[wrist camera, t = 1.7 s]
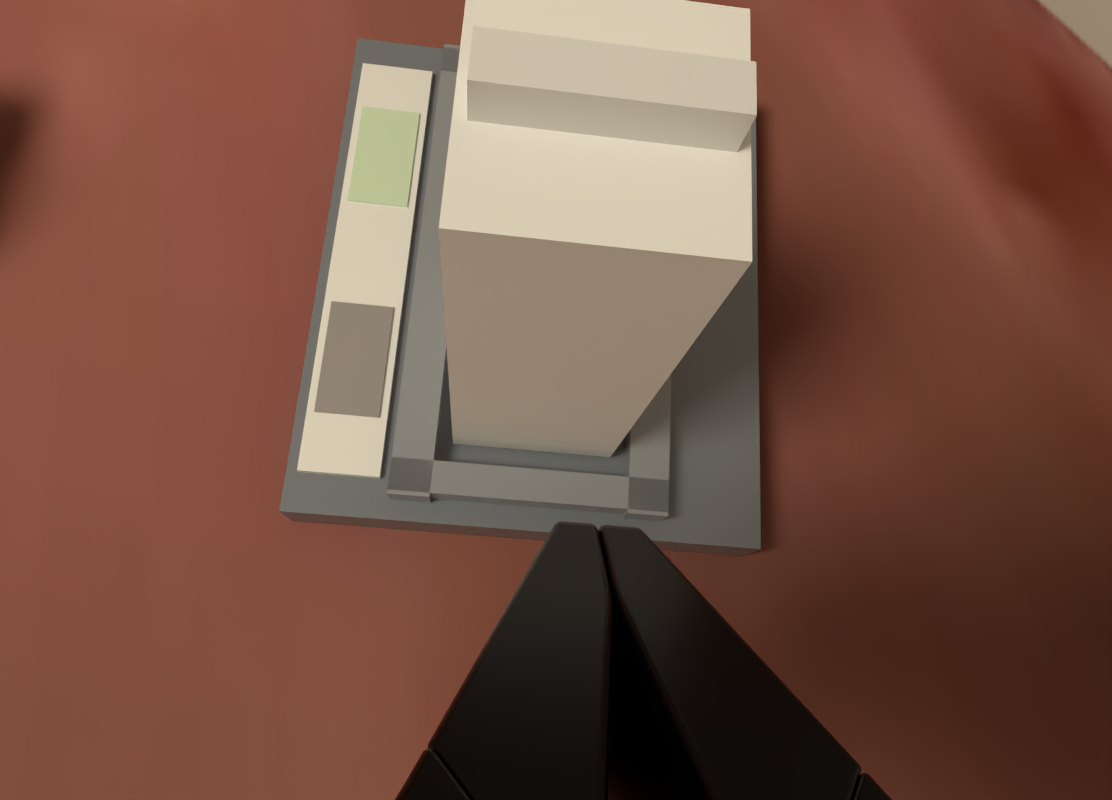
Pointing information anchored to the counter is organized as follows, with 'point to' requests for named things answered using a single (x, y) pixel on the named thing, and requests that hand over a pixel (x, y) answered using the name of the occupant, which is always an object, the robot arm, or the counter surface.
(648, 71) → the cream tall block
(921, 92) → the counter surface
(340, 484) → the docking station
